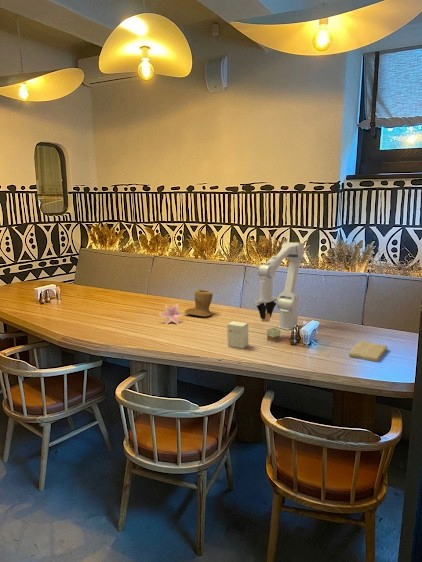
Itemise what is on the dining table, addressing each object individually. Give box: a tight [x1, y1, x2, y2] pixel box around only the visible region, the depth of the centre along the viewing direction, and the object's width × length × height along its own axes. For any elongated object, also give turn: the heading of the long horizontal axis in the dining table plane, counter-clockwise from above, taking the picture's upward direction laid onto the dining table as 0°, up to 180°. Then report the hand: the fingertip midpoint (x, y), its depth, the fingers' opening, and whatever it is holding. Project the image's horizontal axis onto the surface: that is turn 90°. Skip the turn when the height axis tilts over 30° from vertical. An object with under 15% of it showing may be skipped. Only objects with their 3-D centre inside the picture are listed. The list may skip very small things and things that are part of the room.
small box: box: [226, 321, 249, 349], centre depth 187 cm, size 8×6×10 cm
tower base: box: [266, 334, 281, 343], centre depth 195 cm, size 4×4×2 cm
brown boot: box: [183, 289, 213, 317], centre depth 239 cm, size 15×12×15 cm
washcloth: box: [348, 340, 388, 363], centre depth 176 cm, size 12×18×3 cm, turn 146°
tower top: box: [266, 327, 282, 337], centre depth 194 cm, size 4×4×2 cm
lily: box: [158, 302, 184, 325], centre depth 226 cm, size 12×12×10 cm
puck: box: [261, 312, 271, 323], centre depth 198 cm, size 4×4×4 cm
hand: (265, 317), depth 198 cm, fingers closed on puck, 4 cm apart
